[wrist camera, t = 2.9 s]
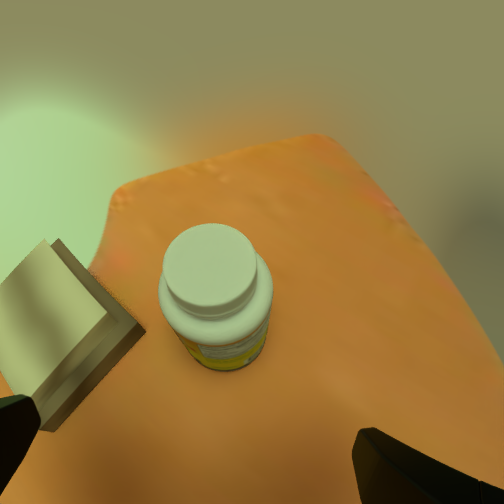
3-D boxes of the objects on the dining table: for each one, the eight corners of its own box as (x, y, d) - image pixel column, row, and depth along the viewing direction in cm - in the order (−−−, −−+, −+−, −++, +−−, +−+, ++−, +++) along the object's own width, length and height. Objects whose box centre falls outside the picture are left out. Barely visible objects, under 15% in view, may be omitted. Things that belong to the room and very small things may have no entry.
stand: (53, 432, 17) (22, 427, 14) (-9, 333, 21) (-37, 316, 17) (146, 331, 22) (127, 311, 18) (68, 250, 25) (48, 223, 22)
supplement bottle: (185, 301, 23) (149, 212, 14) (261, 295, 24) (268, 203, 15) (186, 376, 20) (139, 328, 12) (269, 370, 21) (286, 319, 12)
